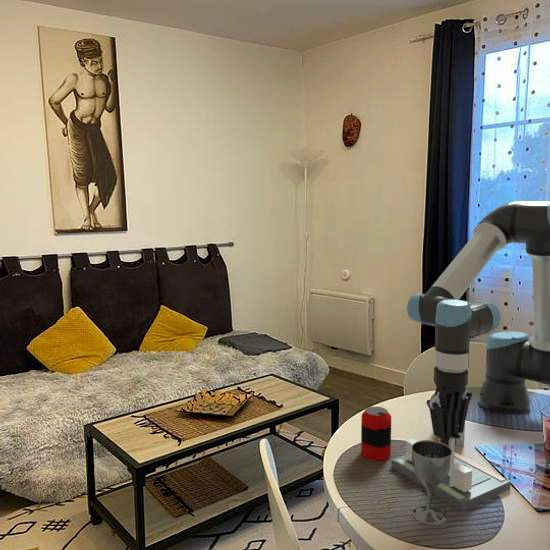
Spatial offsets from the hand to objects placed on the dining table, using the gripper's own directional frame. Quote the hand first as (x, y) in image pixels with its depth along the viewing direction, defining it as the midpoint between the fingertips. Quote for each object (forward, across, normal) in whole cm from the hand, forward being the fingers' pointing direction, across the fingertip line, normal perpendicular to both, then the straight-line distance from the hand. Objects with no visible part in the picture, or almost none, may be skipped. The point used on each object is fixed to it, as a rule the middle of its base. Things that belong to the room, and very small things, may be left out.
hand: (447, 462), depth 130 cm
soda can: (+4, +6, -18) cm, 20 cm away
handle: (+2, +3, -7) cm, 8 cm away
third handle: (+2, +3, +7) cm, 8 cm away
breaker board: (+4, -1, 0) cm, 4 cm away
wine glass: (+4, +14, +8) cm, 17 cm away
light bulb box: (+4, -18, -15) cm, 24 cm away
